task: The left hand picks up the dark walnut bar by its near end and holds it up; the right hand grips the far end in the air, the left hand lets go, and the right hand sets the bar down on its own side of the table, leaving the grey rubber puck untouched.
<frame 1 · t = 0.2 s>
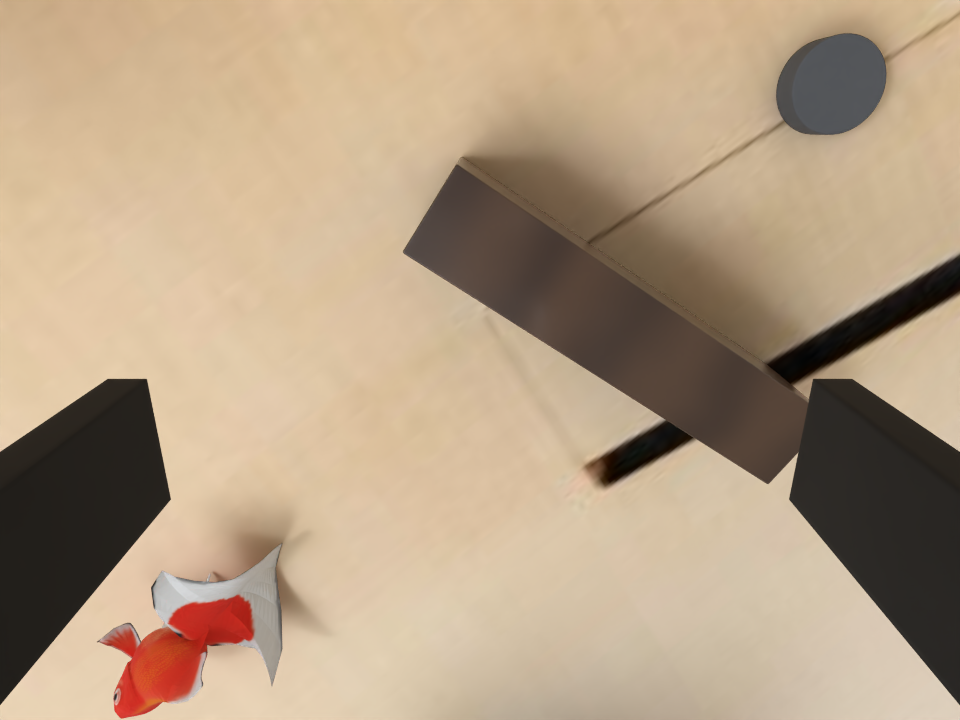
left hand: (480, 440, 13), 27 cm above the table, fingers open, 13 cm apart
fish: (220, 587, 48), on the table
bar: (599, 299, 40), on the table
puck: (820, 87, 36), on the table
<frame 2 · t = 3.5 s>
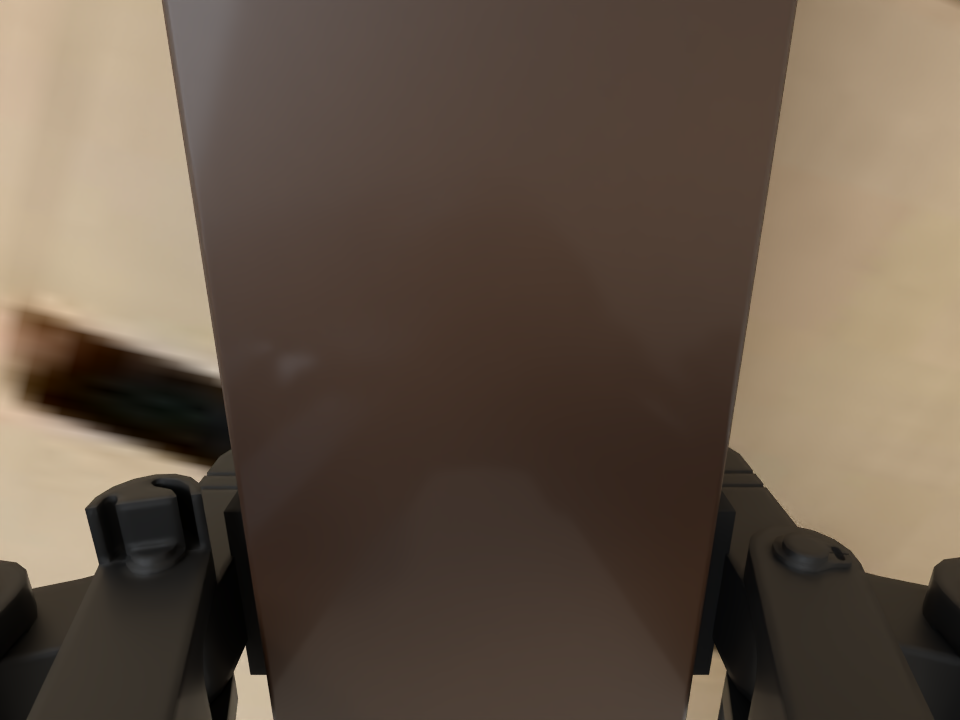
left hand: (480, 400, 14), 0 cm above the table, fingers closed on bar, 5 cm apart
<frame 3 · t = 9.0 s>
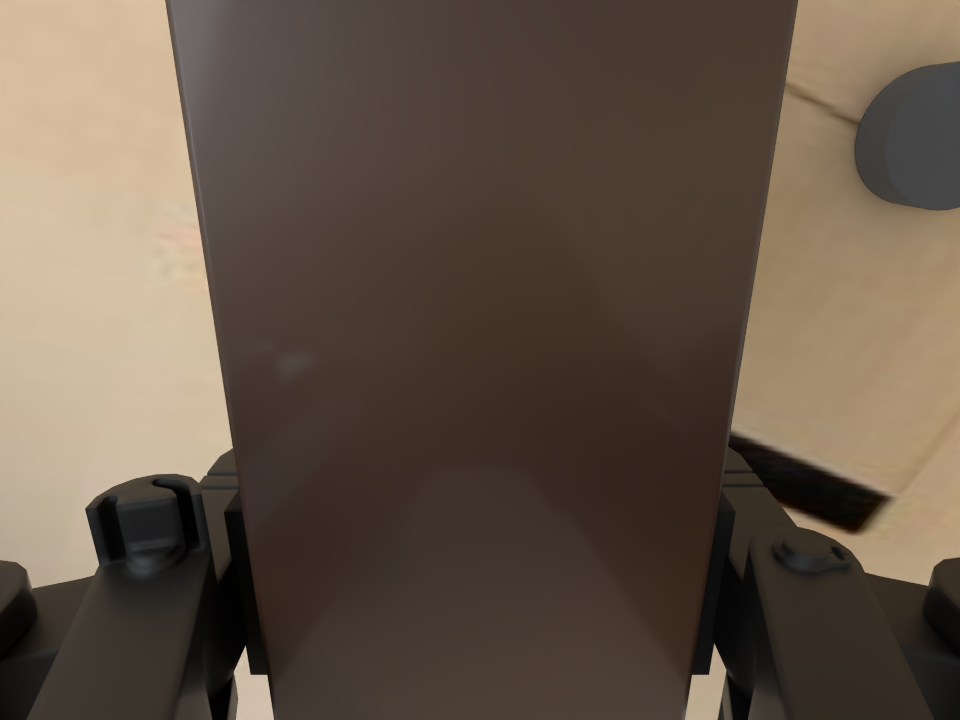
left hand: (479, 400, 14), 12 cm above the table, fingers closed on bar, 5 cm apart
puck: (920, 137, 24), on the table
when the left hand's fingers open (12 cm above the table, at t = 9.9 s): bar stays where it is, held by the right hand.
when the right hand's fingers open (6 cm above the table, at t = 15.4 s): bar drops 1 cm, on the table.
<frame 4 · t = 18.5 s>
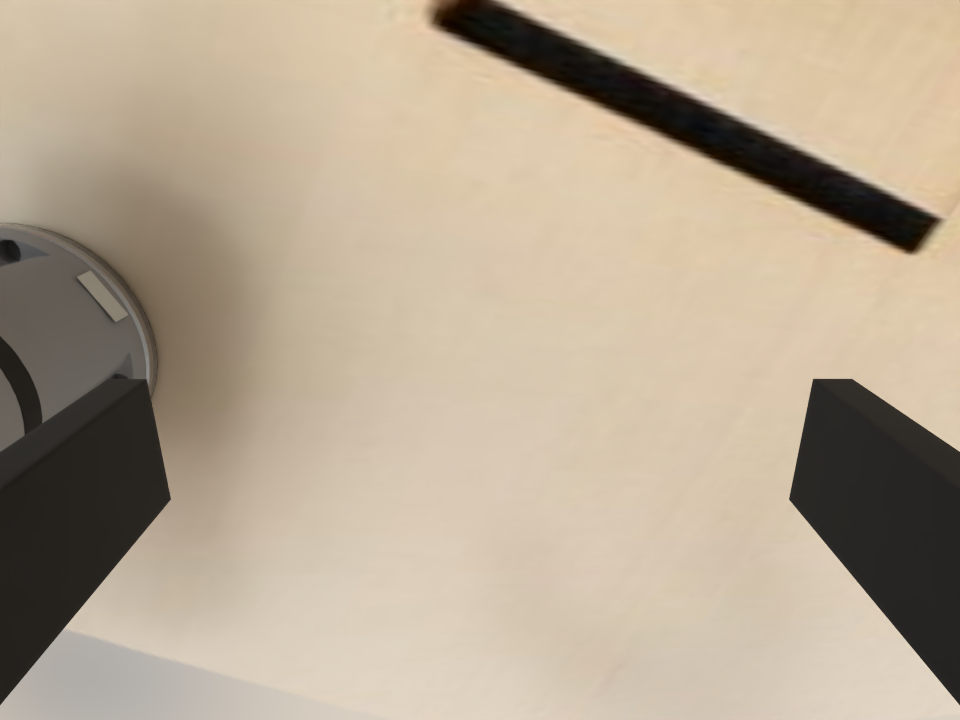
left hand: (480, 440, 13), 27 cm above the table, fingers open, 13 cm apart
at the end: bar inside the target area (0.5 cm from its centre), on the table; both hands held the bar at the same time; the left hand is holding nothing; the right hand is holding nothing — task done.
